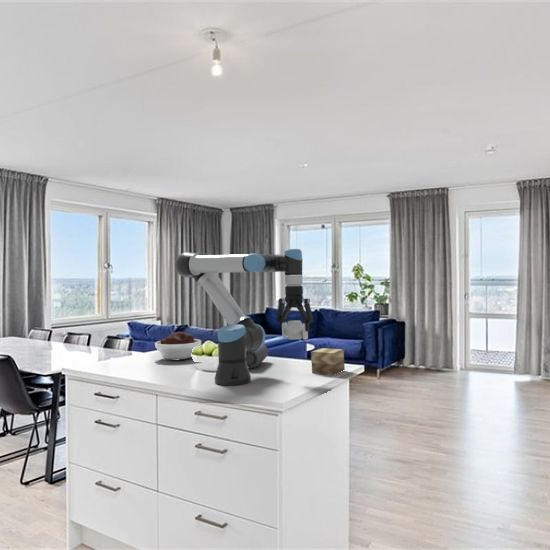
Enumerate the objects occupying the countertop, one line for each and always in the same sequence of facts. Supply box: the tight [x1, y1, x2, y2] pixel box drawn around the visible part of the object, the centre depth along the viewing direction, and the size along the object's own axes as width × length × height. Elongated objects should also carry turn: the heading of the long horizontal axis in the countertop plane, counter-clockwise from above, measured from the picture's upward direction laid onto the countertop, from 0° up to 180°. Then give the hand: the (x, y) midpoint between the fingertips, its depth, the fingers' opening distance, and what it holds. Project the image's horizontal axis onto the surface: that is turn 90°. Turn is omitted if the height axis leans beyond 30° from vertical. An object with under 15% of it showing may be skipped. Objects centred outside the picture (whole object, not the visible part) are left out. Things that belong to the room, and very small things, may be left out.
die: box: [285, 320, 304, 340], centre depth 206 cm, size 8×9×10 cm
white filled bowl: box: [154, 331, 202, 360], centre depth 266 cm, size 25×25×15 cm
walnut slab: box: [311, 360, 346, 376], centre depth 221 cm, size 11×11×5 cm
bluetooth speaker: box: [246, 343, 269, 369], centre depth 240 cm, size 23×9×10 cm, turn 168°
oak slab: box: [310, 347, 345, 365], centre depth 221 cm, size 11×11×5 cm
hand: (294, 338), depth 206 cm, fingers closed on die, 9 cm apart
